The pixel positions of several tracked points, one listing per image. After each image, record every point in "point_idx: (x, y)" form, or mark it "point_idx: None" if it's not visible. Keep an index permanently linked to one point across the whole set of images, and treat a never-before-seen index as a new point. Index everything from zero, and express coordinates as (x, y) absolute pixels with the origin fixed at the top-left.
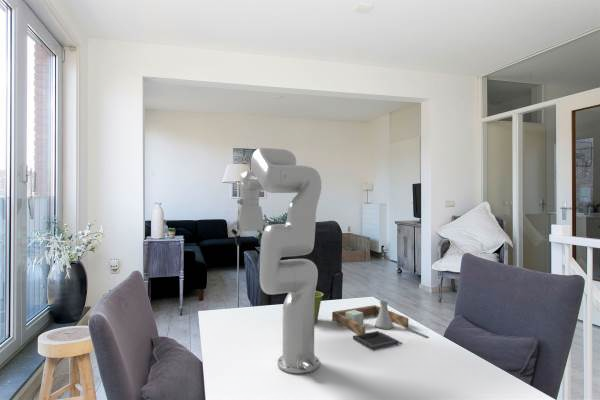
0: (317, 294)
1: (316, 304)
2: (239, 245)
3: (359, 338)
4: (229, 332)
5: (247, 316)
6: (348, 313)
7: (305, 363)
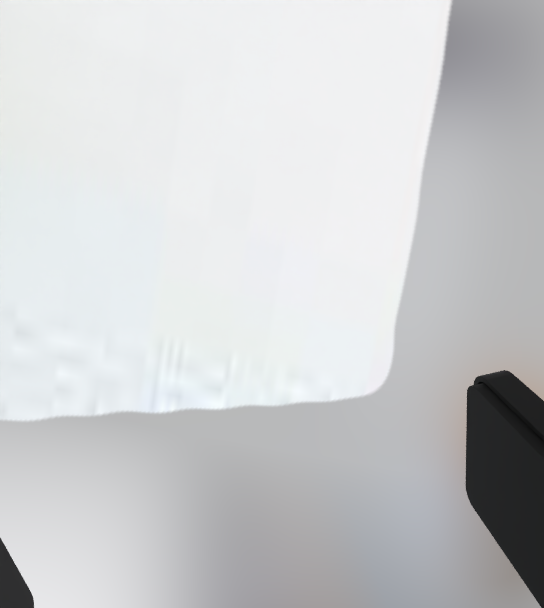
0: None
1: None
2: (493, 373)
3: None
4: (331, 46)
5: (203, 273)
6: None
7: None
